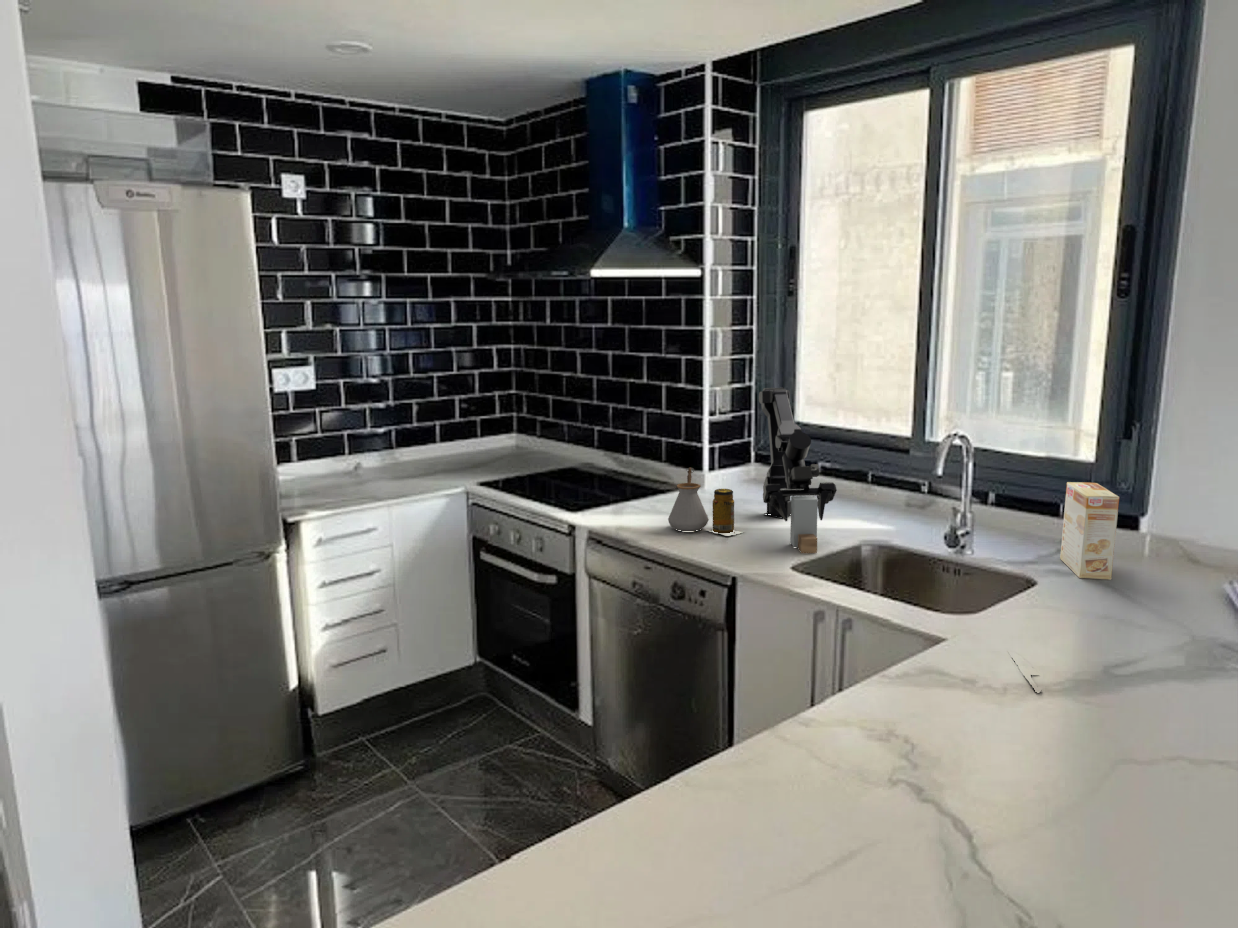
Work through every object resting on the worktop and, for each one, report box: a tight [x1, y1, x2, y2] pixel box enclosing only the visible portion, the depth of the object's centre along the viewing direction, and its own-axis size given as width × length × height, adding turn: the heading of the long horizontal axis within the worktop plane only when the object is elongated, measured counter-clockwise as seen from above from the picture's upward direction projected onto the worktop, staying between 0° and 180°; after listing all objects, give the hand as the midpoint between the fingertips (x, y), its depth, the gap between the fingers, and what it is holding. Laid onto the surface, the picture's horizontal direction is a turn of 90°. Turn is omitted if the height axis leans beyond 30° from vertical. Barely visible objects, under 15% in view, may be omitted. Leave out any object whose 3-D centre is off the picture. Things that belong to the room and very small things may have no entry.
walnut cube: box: [797, 534, 818, 554], centre depth 219 cm, size 4×4×4 cm
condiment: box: [711, 488, 735, 533], centre depth 236 cm, size 7×8×12 cm
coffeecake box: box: [1059, 481, 1120, 581], centre depth 198 cm, size 15×7×20 cm, turn 168°
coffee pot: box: [667, 466, 710, 531], centre depth 245 cm, size 21×12×15 cm, turn 173°
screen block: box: [789, 496, 818, 548], centre depth 222 cm, size 4×6×13 cm, turn 91°
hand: (804, 520), depth 222 cm, fingers open, 9 cm apart
